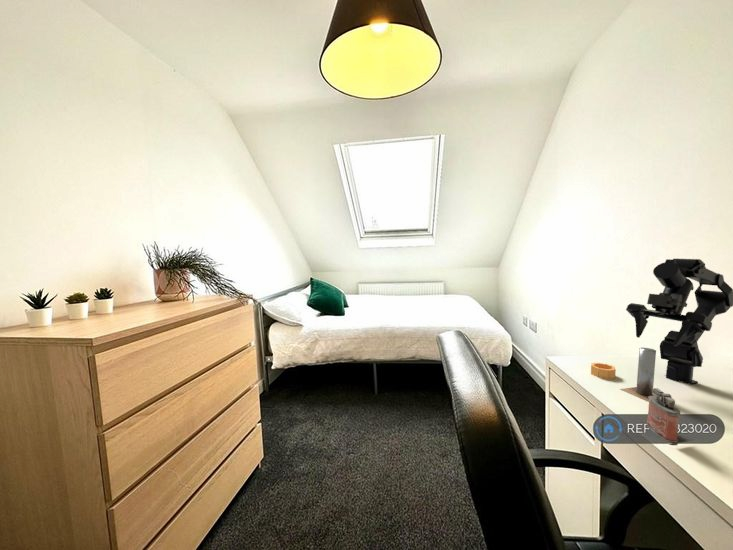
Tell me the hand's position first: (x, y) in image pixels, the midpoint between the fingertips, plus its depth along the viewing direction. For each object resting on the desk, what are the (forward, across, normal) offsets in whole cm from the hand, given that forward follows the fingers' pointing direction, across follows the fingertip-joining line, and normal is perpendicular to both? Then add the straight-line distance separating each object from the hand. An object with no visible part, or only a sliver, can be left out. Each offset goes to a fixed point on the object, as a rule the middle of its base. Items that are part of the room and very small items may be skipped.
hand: (655, 341), depth 98 cm
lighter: (+27, +14, -13) cm, 33 cm away
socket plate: (+14, -12, +6) cm, 19 cm away
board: (+16, +2, +2) cm, 17 cm away
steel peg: (+16, +2, +2) cm, 16 cm away
